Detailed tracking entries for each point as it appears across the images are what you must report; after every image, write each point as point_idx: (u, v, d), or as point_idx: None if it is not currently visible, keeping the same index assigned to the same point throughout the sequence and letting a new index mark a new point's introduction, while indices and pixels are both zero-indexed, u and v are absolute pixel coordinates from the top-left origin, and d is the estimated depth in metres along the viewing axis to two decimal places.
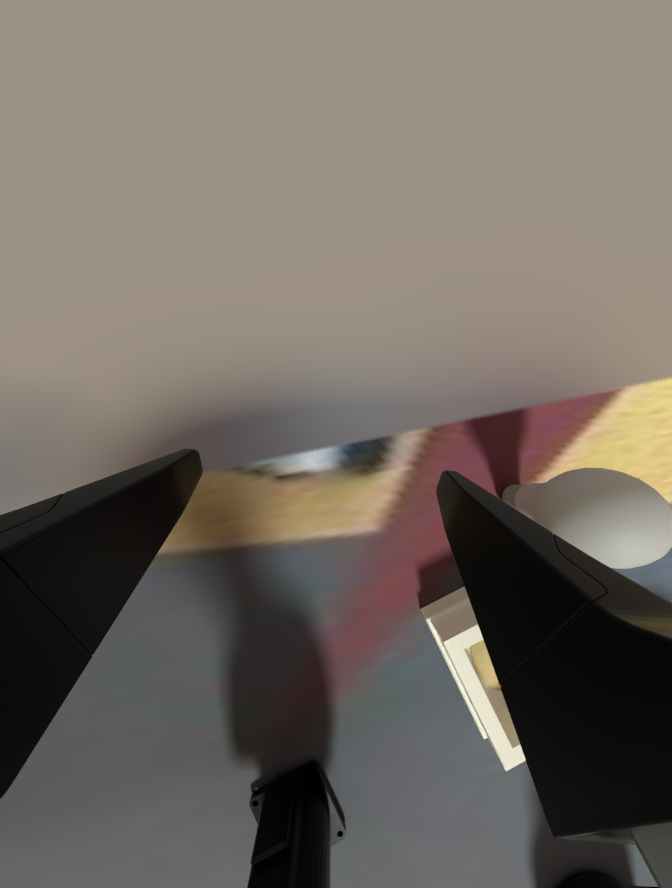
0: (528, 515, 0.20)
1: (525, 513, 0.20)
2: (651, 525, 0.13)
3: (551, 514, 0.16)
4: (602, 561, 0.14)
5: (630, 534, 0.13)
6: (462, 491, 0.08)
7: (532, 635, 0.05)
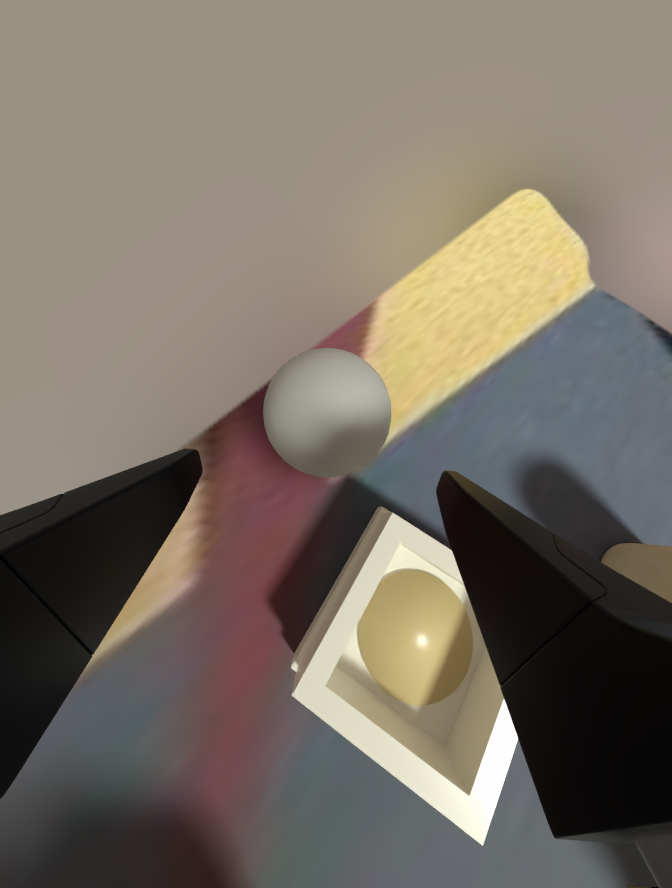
0: None
1: None
2: (318, 384, 0.09)
3: (271, 443, 0.12)
4: (328, 462, 0.10)
5: (305, 409, 0.09)
6: (462, 491, 0.08)
7: (533, 635, 0.05)
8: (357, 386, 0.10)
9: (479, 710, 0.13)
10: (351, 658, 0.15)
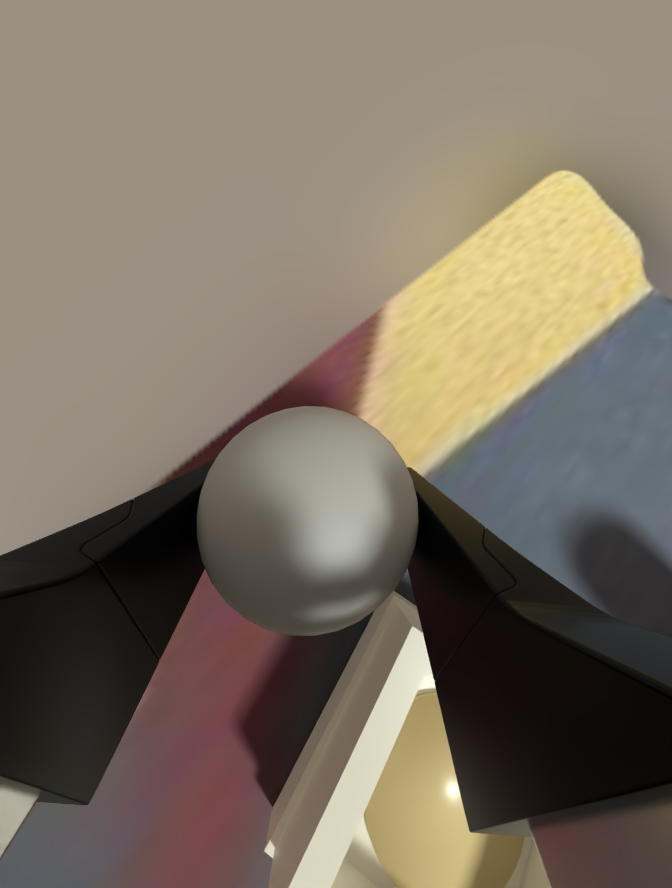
0: None
1: None
2: (281, 509, 0.05)
3: None
4: (306, 634, 0.05)
5: (256, 559, 0.05)
6: None
7: (458, 629, 0.05)
8: (361, 506, 0.05)
9: None
10: None
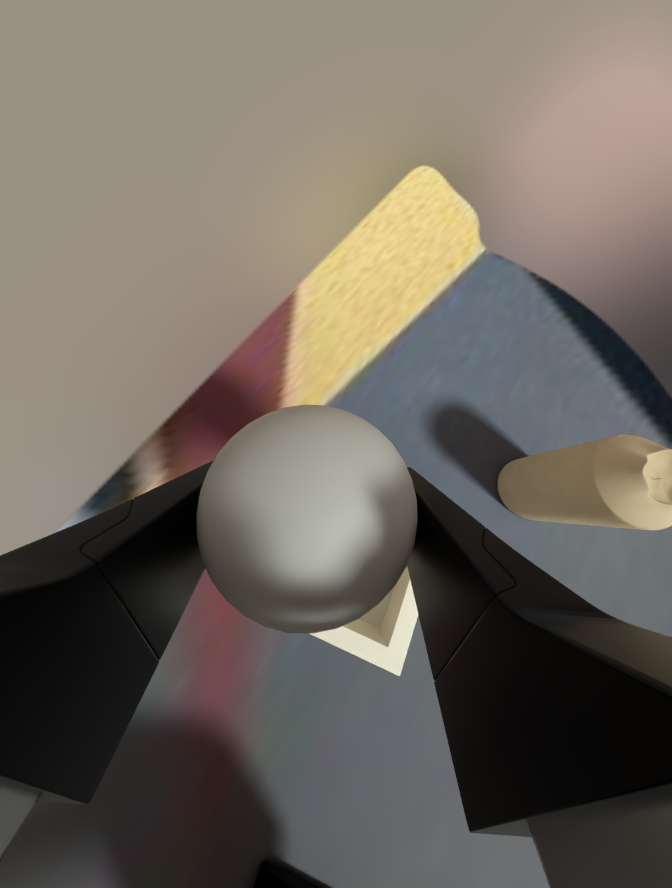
0: None
1: None
2: (280, 508, 0.05)
3: None
4: (306, 631, 0.05)
5: (255, 558, 0.05)
6: None
7: (459, 629, 0.05)
8: (360, 505, 0.05)
9: (398, 594, 0.18)
10: None
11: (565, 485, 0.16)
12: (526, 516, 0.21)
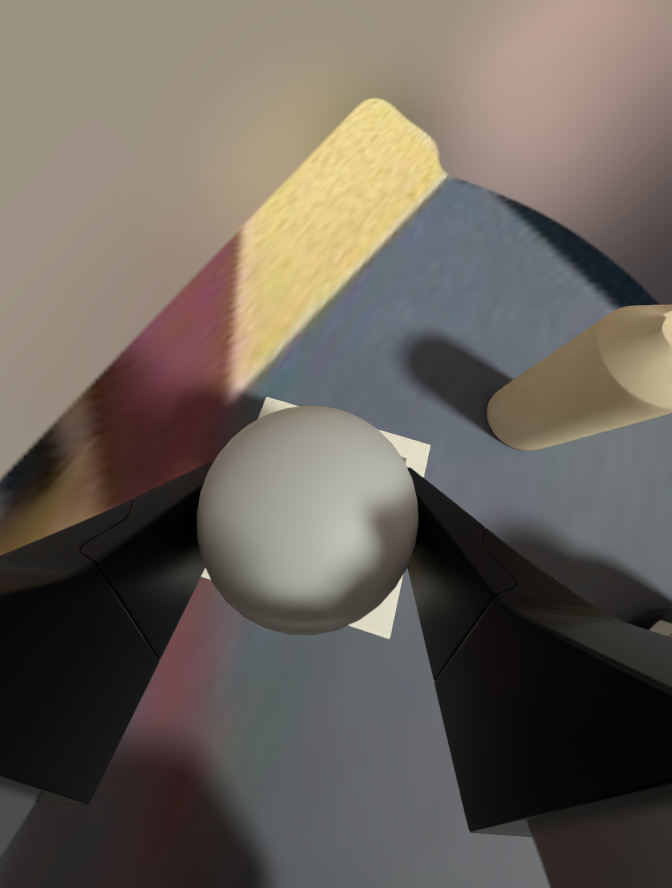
0: None
1: None
2: (281, 509, 0.05)
3: None
4: (306, 633, 0.05)
5: (256, 560, 0.05)
6: None
7: (458, 629, 0.05)
8: (360, 506, 0.05)
9: None
10: None
11: (565, 381, 0.13)
12: (523, 444, 0.18)
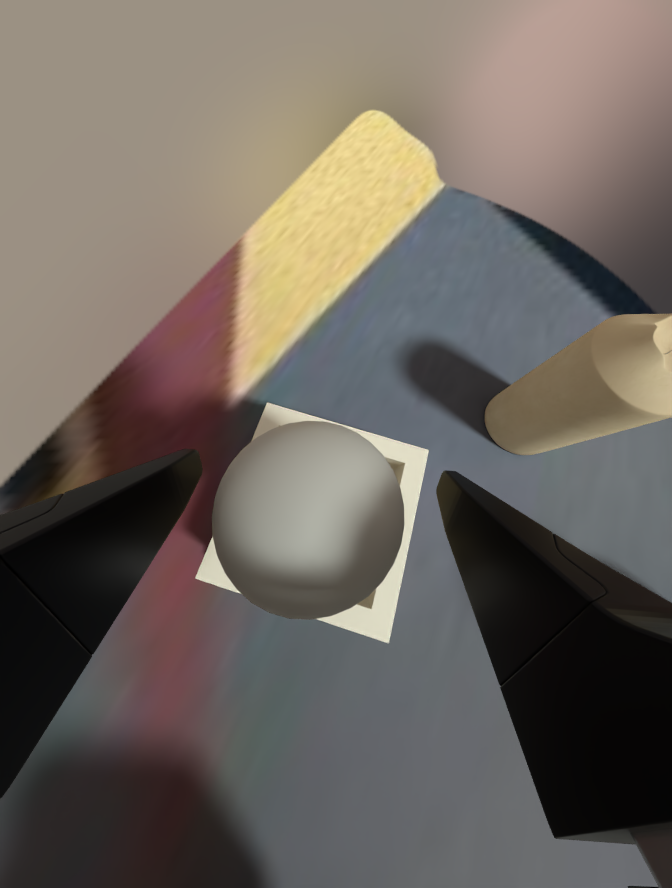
0: None
1: None
2: (283, 514, 0.06)
3: None
4: (304, 617, 0.06)
5: (262, 555, 0.06)
6: (462, 491, 0.08)
7: (533, 635, 0.05)
8: (349, 512, 0.06)
9: None
10: None
11: (560, 388, 0.13)
12: (521, 449, 0.18)
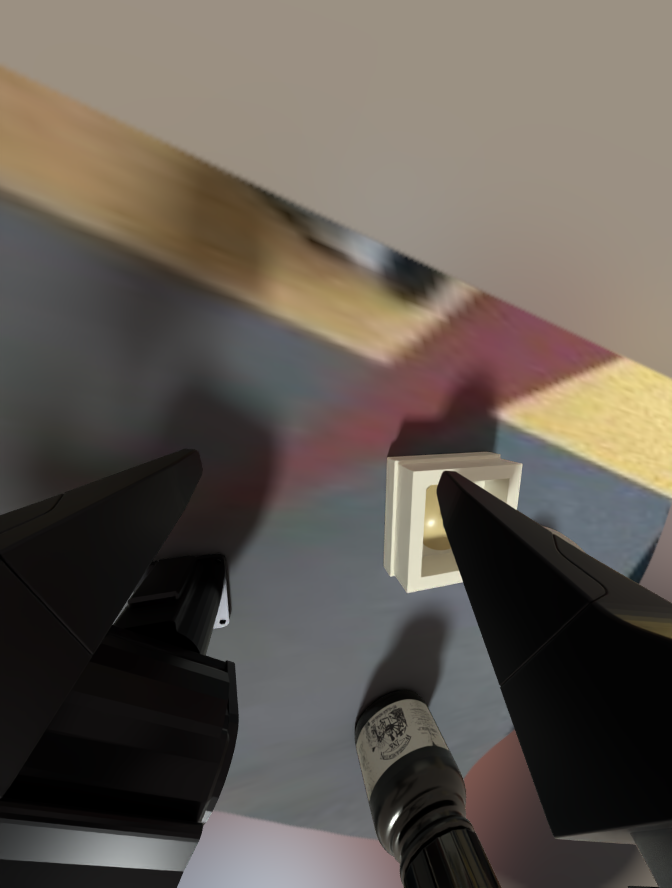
0: None
1: None
2: None
3: None
4: None
5: None
6: (462, 491, 0.08)
7: (533, 635, 0.05)
8: None
9: (442, 563, 0.22)
10: None
11: None
12: None
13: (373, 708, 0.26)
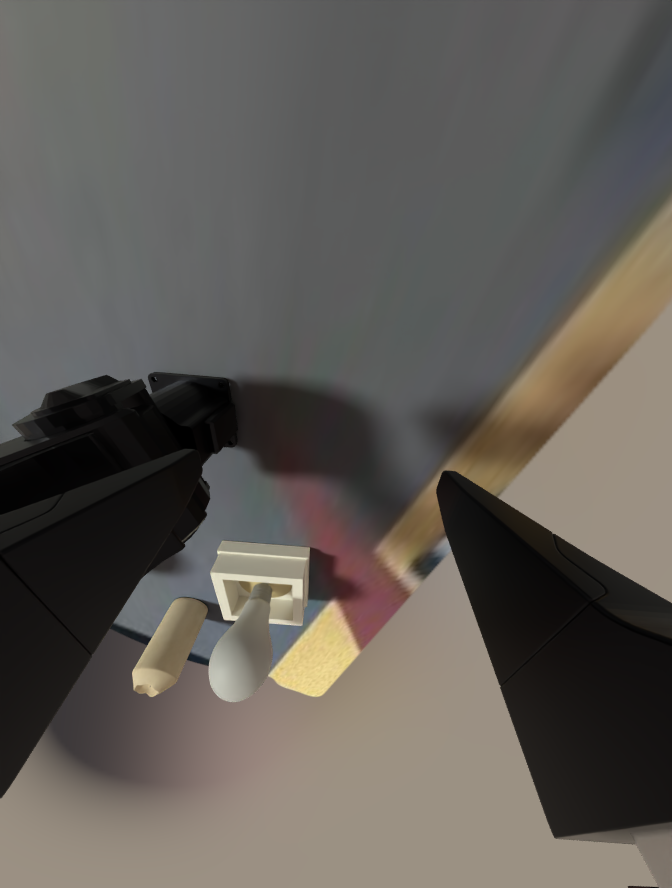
0: (256, 611, 0.28)
1: (257, 608, 0.28)
2: (233, 699, 0.23)
3: (260, 652, 0.24)
4: (224, 666, 0.23)
5: (234, 692, 0.23)
6: (462, 491, 0.08)
7: (532, 635, 0.05)
8: (219, 697, 0.23)
9: (229, 584, 0.31)
10: None
11: (179, 657, 0.33)
12: (184, 605, 0.37)
13: None
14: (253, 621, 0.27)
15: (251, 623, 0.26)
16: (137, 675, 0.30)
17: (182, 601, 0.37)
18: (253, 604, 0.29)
